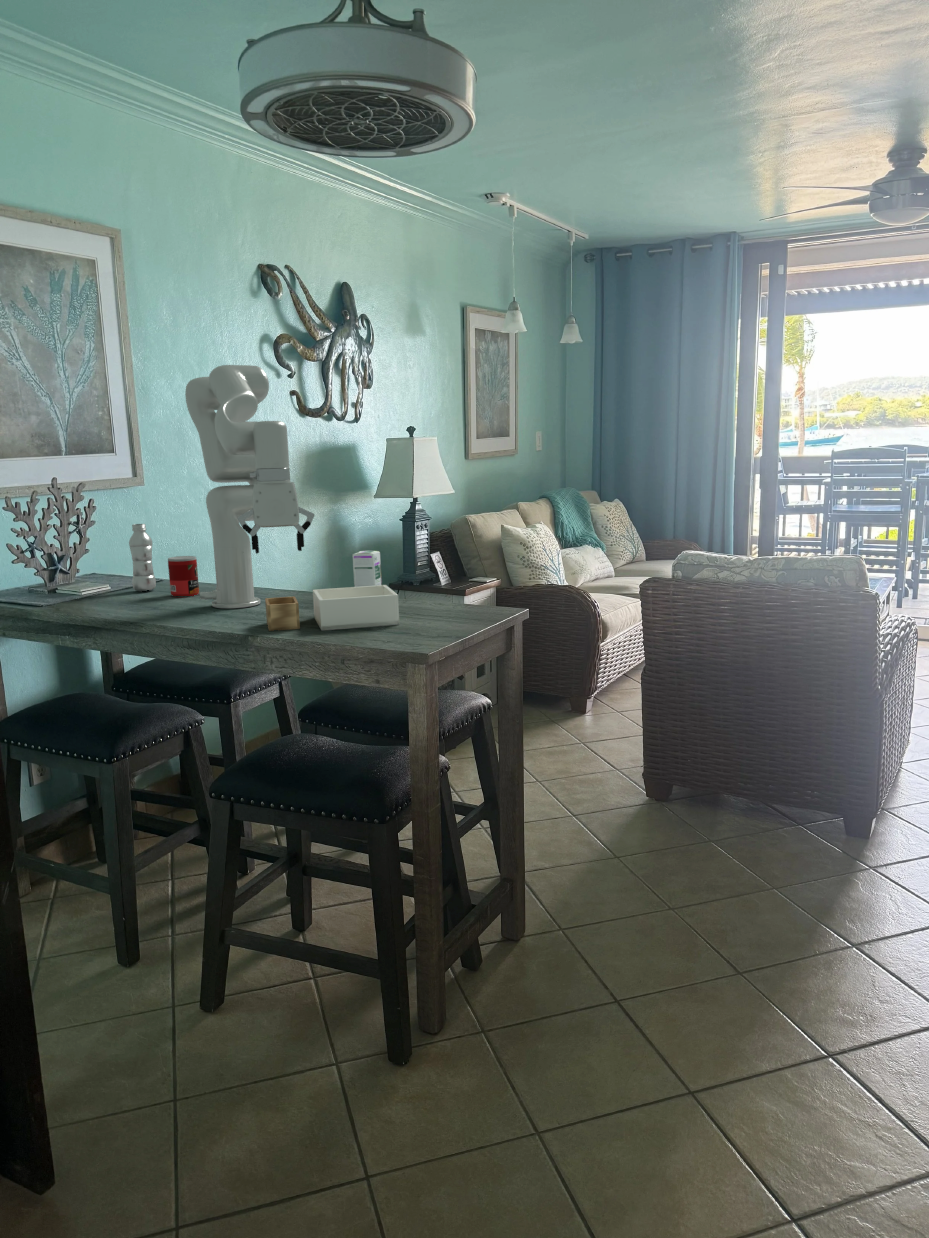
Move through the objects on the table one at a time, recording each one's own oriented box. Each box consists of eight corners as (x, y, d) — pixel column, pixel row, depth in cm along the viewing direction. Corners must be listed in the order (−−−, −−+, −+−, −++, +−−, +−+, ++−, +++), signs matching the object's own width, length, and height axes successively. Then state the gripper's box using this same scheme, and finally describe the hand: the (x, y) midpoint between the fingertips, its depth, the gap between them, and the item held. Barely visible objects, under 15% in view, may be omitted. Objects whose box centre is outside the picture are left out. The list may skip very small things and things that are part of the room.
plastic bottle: (132, 590, 266) (125, 524, 263) (156, 588, 269) (149, 522, 265) (133, 593, 261) (126, 525, 257) (157, 591, 263) (151, 524, 259)
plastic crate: (321, 630, 201) (319, 600, 200) (314, 617, 216) (312, 589, 215) (399, 624, 206) (398, 594, 204) (387, 612, 221) (385, 584, 219)
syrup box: (377, 609, 225) (374, 553, 222) (354, 609, 226) (352, 553, 224) (383, 605, 231) (381, 550, 228) (361, 605, 232) (359, 550, 229)
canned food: (194, 597, 252) (191, 558, 250) (167, 597, 252) (163, 559, 250) (203, 592, 259) (199, 555, 257) (176, 593, 259) (172, 556, 257)
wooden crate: (269, 631, 202) (267, 605, 201) (266, 623, 211) (265, 598, 210) (300, 628, 204) (298, 603, 203) (296, 620, 213) (294, 596, 212)
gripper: (234, 478, 195) (240, 555, 198) (313, 475, 199) (318, 551, 203) (233, 477, 202) (239, 552, 205) (310, 475, 207) (314, 548, 210)
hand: (278, 551), depth 204 cm, fingers open, 9 cm apart
